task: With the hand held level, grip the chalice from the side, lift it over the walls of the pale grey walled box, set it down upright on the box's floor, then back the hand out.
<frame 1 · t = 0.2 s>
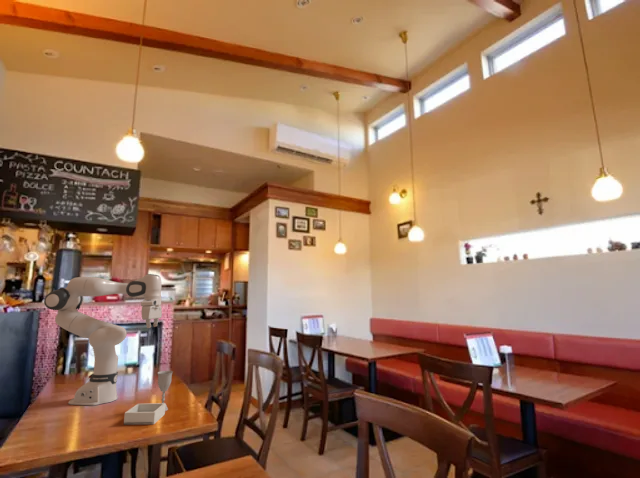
hand: (152, 327, 194), 39 cm above the table, tool pointing down, fingers open, 8 cm apart
chalice: (162, 410, 173), on the table
walled box: (145, 419, 160), on the table
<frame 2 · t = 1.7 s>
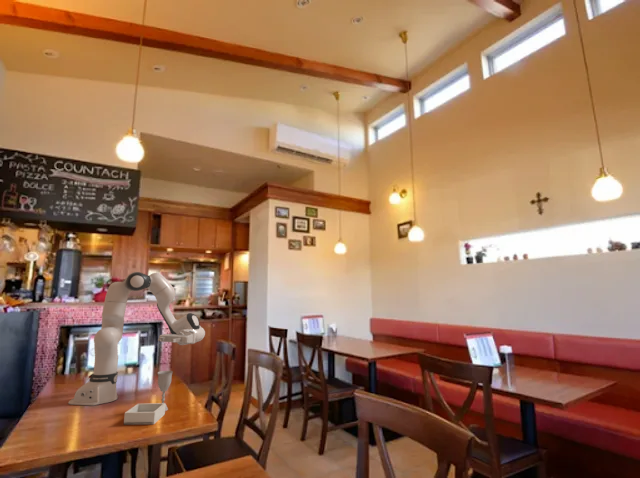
hand: (165, 340, 191), 32 cm above the table, tool horizontal, fingers open, 8 cm apart
nothing on the table moved.
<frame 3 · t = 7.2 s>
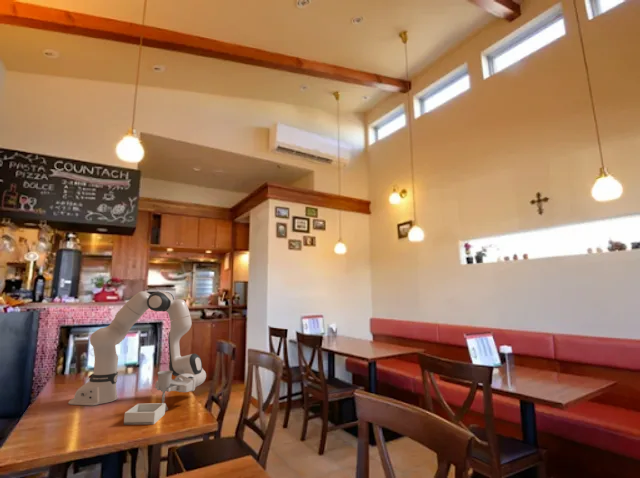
hand: (162, 389, 174), 10 cm above the table, tool horizontal, fingers closed on chalice, 5 cm apart
chalice: (162, 410, 173), on the table, touching gripper
when the fingers open (12 cm above the table, at t = 12.8 s): chalice stays where it is, resting on walled box.
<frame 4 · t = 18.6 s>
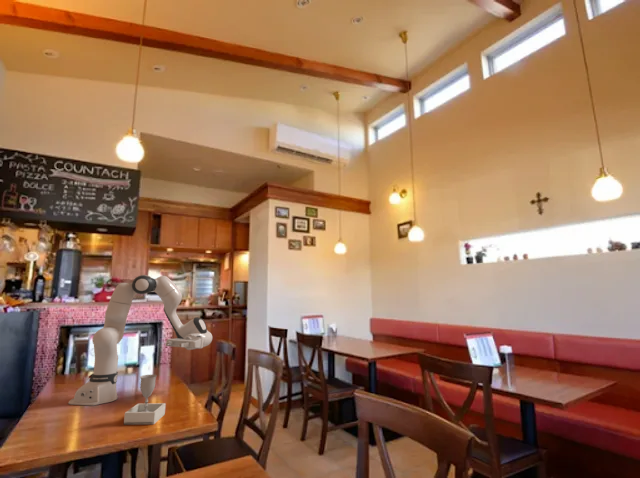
hand: (173, 344, 188), 30 cm above the table, tool horizontal, fingers open, 8 cm apart
chalice: (145, 417, 160), point 1 cm above the table, touching walled box
at the end: chalice 0.1 cm off-centre on the walled box, point 0.8 cm above the walled box's base; chalice tilted 0°; the gripper is holding nothing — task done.
